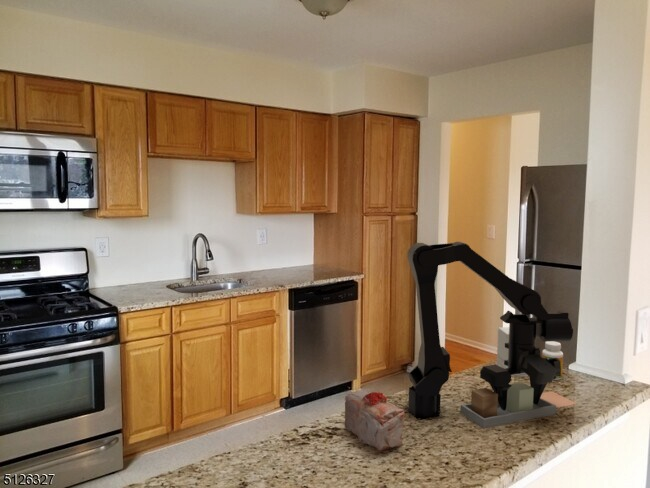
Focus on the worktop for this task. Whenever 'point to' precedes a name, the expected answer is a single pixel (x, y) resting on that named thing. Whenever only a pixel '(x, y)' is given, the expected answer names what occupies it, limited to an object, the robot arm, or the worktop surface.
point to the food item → (374, 419)
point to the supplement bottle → (553, 353)
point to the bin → (509, 414)
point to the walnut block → (484, 402)
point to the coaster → (556, 399)
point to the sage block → (519, 397)
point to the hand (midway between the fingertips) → (519, 406)
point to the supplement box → (503, 347)
